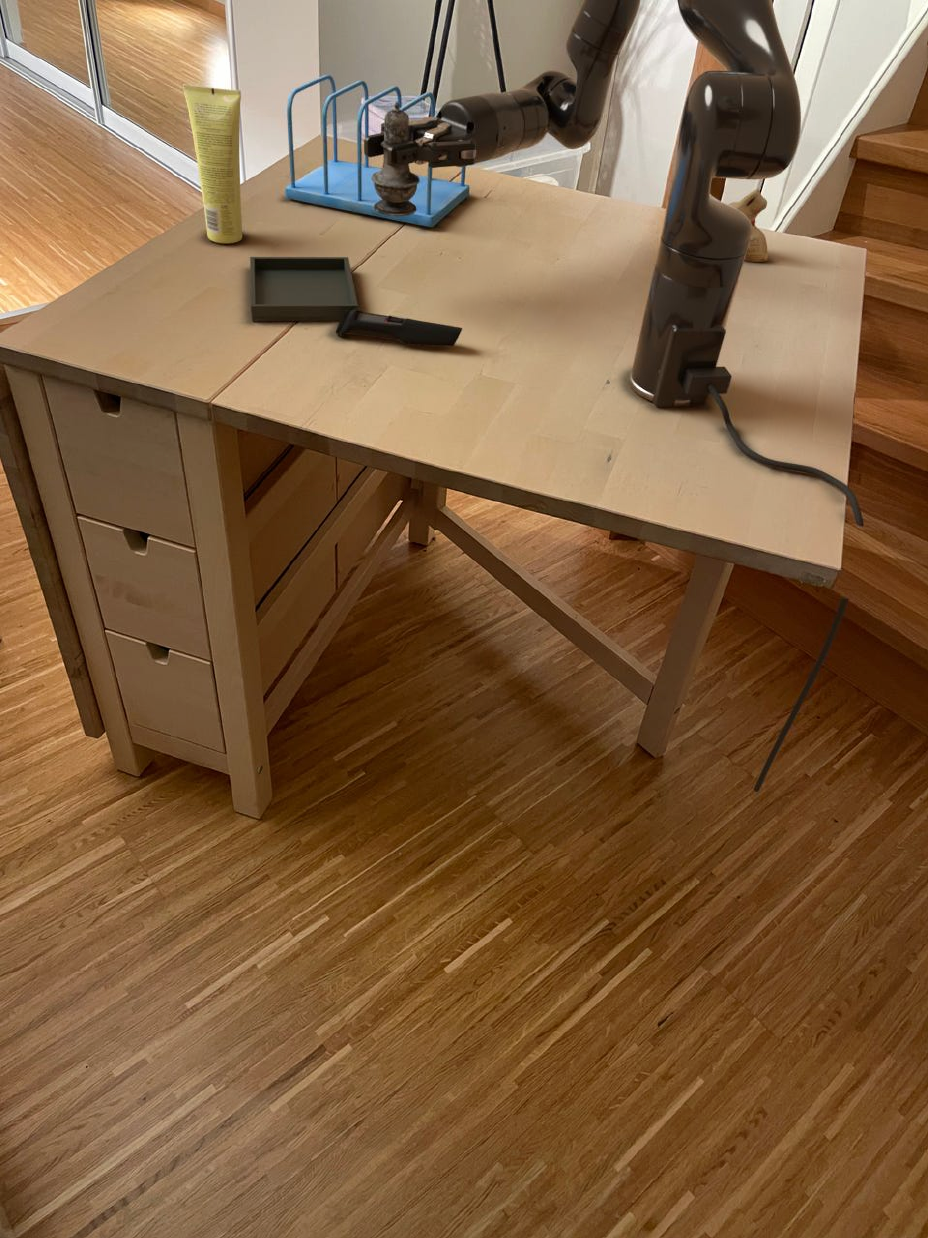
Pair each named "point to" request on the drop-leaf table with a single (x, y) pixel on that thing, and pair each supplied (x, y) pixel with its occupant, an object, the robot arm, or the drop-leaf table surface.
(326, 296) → the tray
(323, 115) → the file sorter
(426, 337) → the electric trimmer
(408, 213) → the salt shaker
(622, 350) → the drop-leaf table surface
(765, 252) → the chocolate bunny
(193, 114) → the tube
